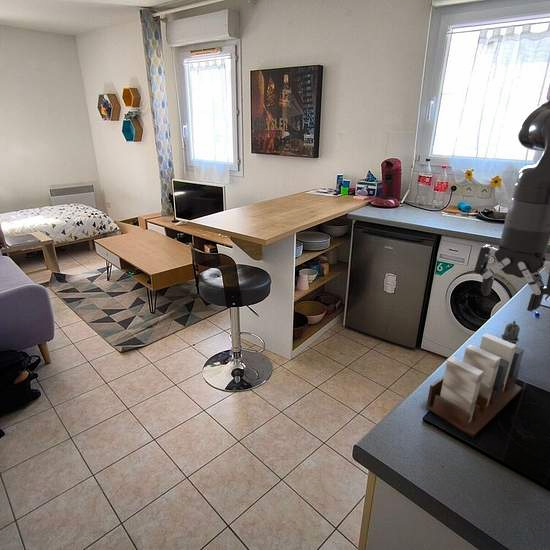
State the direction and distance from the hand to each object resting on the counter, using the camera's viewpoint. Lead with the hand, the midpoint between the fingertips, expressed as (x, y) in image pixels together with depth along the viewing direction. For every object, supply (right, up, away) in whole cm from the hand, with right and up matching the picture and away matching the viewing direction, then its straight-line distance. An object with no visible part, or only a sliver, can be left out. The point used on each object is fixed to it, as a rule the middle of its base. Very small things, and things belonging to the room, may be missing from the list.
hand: (507, 302), depth 74 cm
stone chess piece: (+9, -17, +16) cm, 25 cm away
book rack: (-4, -21, +5) cm, 22 cm away
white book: (0, -19, +7) cm, 21 cm away
